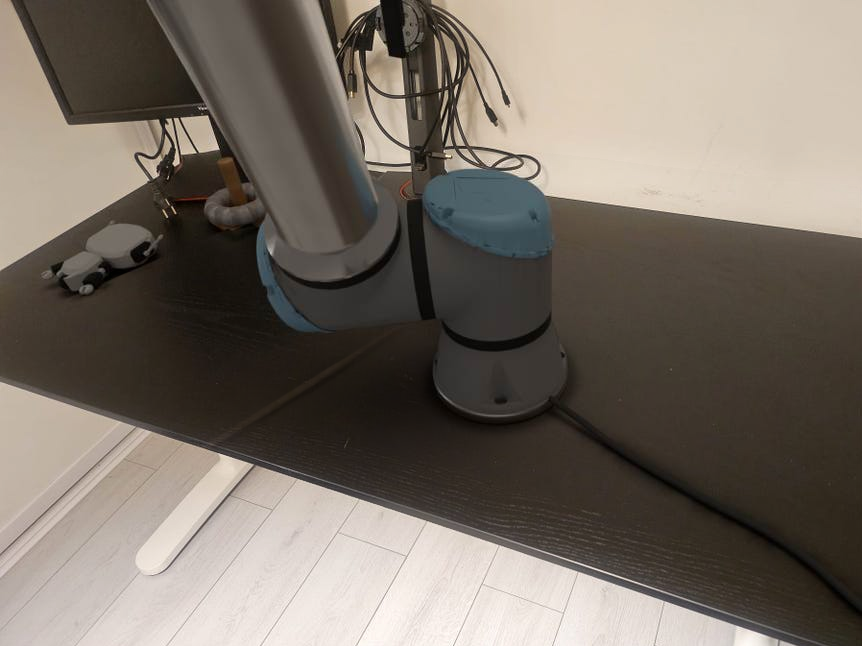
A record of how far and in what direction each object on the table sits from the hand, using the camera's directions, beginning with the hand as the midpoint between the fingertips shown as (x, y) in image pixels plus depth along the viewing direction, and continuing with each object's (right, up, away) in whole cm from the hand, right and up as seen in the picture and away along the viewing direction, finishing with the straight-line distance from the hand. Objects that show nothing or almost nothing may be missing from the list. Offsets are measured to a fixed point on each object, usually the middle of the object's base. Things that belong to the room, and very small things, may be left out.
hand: (355, 70), depth 75 cm
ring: (-25, -10, +27) cm, 38 cm away
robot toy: (-42, -22, +19) cm, 51 cm away
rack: (-25, -12, +29) cm, 40 cm away
